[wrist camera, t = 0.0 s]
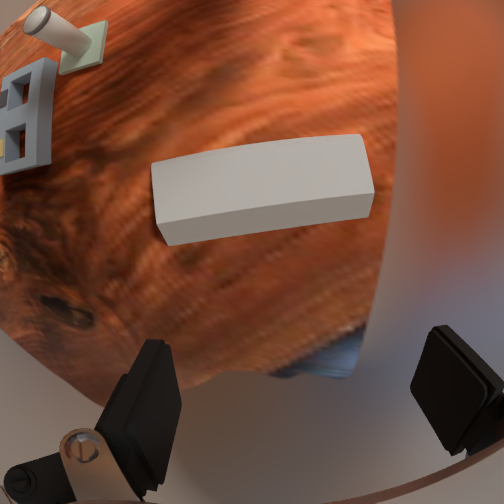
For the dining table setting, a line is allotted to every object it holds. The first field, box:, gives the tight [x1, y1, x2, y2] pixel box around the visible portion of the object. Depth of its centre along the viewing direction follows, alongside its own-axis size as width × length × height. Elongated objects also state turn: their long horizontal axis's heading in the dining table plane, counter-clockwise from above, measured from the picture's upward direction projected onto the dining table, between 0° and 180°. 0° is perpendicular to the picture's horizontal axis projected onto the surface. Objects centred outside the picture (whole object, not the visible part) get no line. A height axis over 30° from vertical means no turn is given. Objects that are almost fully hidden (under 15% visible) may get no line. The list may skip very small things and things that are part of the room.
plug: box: [23, 6, 91, 57], centre depth 23 cm, size 4×4×13 cm
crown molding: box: [151, 134, 375, 246], centre depth 37 cm, size 29×12×4 cm, turn 99°
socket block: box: [0, 57, 58, 175], centre depth 31 cm, size 18×11×4 cm, turn 0°
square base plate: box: [59, 20, 109, 76], centre depth 30 cm, size 8×8×1 cm
